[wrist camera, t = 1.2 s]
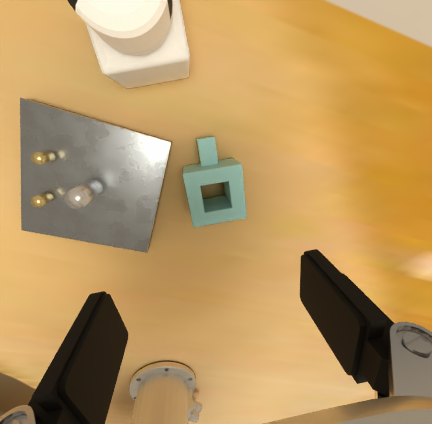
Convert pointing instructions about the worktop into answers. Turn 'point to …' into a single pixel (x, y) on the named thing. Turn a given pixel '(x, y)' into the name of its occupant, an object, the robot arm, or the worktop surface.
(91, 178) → the post base
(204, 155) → the teal hollow square block
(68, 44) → the worktop surface
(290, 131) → the worktop surface
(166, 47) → the medicine bottle
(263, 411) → the worktop surface
